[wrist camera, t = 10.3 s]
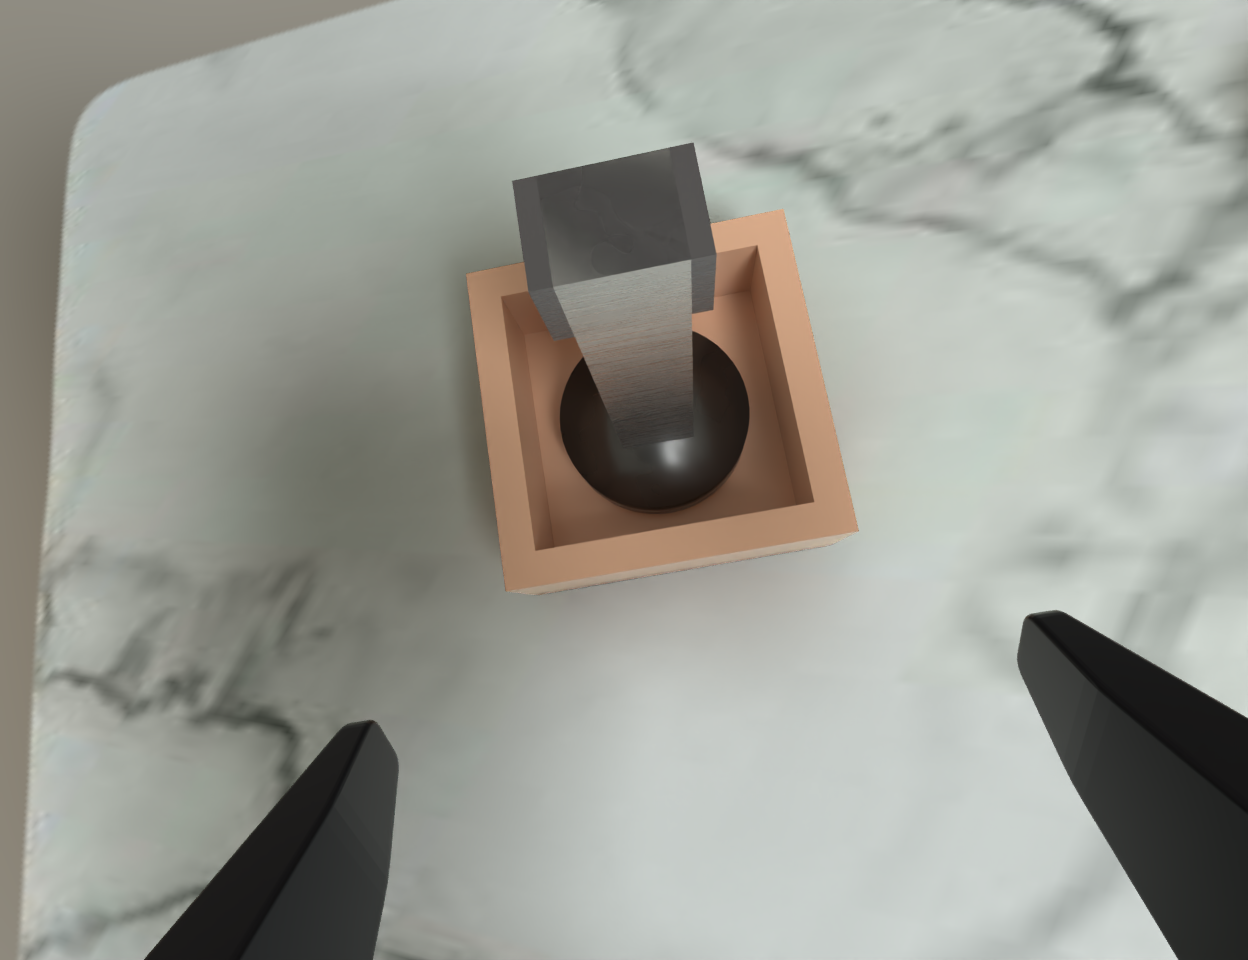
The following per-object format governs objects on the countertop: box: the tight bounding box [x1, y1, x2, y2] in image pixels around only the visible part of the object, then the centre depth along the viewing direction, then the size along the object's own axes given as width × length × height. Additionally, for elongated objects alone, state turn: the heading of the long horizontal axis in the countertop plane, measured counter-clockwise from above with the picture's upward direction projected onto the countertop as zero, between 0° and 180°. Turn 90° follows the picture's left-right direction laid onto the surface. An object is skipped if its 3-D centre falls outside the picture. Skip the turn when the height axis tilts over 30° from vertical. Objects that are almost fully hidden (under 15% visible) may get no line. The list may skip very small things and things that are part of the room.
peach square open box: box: [466, 209, 859, 595], centre depth 22 cm, size 10×10×4 cm
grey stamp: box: [512, 143, 750, 514], centre depth 17 cm, size 6×6×12 cm
